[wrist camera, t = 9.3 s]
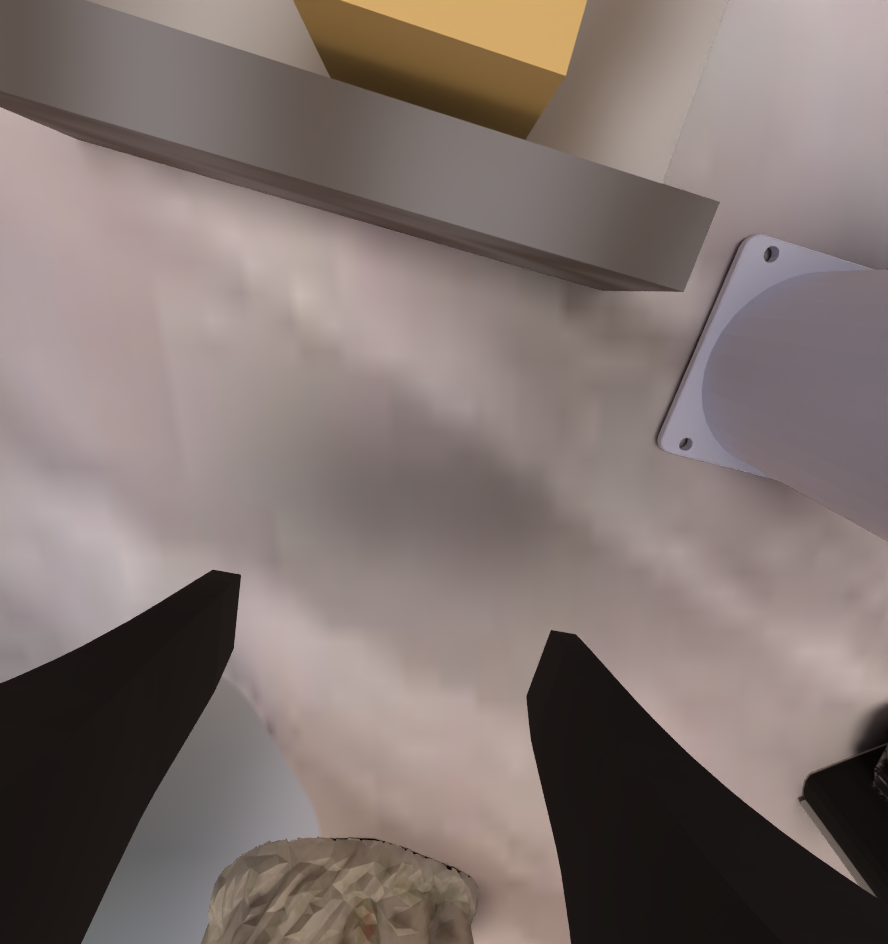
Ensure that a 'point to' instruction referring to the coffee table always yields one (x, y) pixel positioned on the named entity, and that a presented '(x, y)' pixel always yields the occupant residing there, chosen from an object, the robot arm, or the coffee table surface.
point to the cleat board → (389, 127)
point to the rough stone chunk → (340, 896)
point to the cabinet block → (451, 53)
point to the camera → (854, 814)
